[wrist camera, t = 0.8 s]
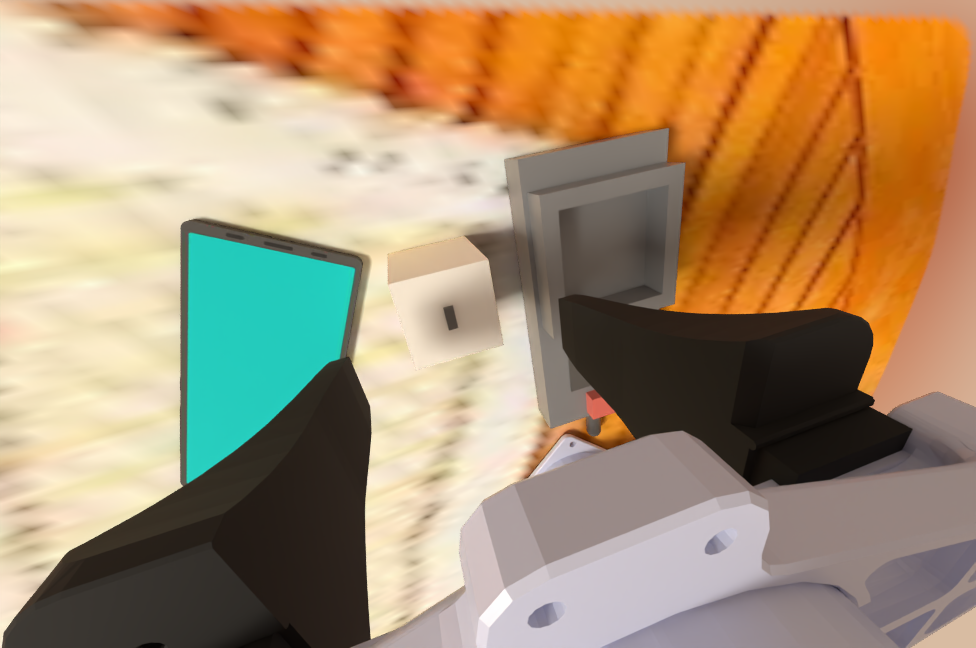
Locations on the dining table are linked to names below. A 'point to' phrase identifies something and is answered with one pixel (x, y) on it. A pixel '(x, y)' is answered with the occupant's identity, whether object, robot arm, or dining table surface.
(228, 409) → the smartphone
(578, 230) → the power strip
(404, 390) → the dining table surface
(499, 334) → the block
